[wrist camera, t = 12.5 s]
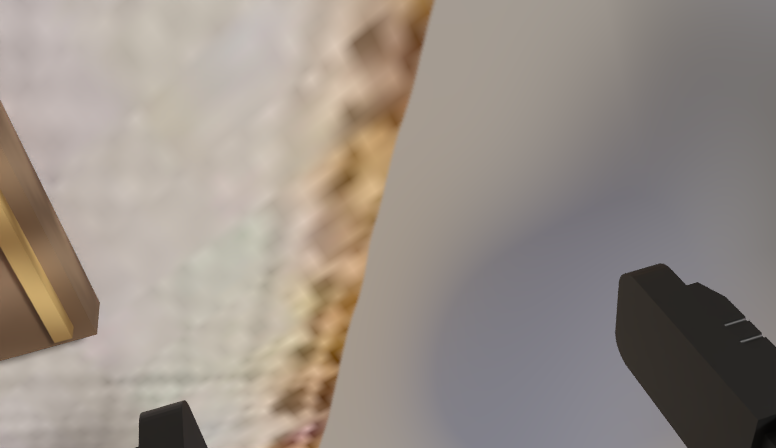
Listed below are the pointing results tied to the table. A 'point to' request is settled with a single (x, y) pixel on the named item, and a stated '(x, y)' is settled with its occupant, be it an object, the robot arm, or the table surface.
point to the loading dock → (36, 262)
